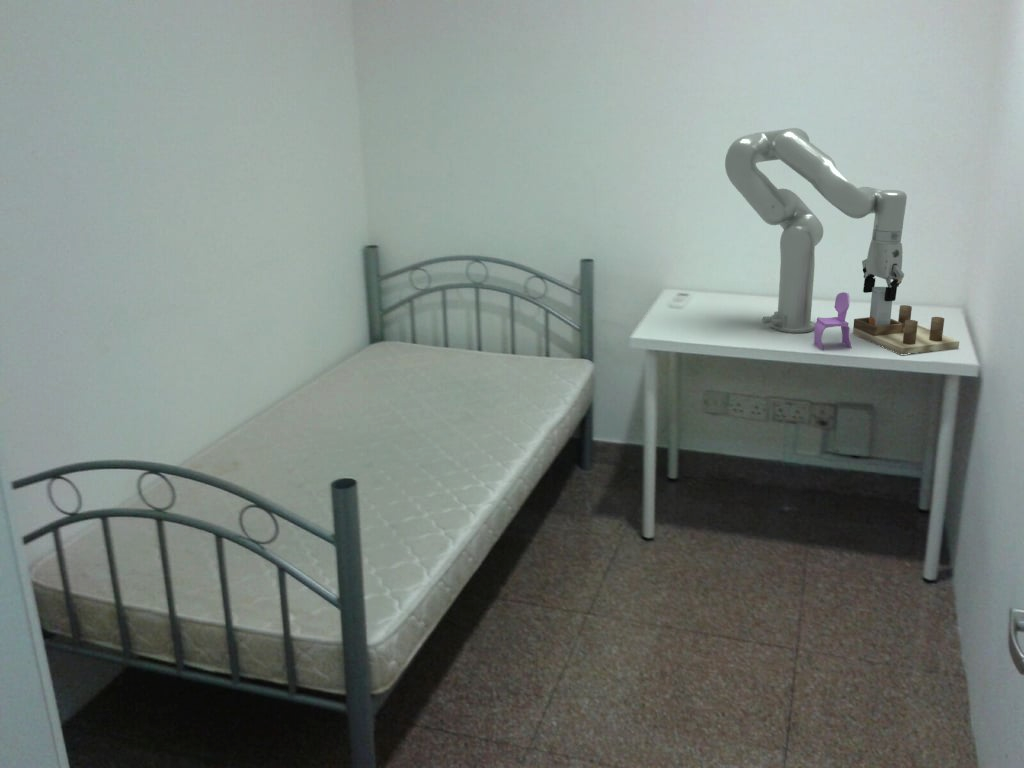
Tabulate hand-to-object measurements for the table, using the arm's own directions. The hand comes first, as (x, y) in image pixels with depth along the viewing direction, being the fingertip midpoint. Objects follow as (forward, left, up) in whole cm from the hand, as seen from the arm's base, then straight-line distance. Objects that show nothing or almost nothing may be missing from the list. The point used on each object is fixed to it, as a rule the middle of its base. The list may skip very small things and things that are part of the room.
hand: (878, 296), depth 274 cm
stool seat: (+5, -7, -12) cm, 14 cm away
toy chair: (-16, -4, -12) cm, 21 cm away
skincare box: (0, -1, -10) cm, 10 cm away
